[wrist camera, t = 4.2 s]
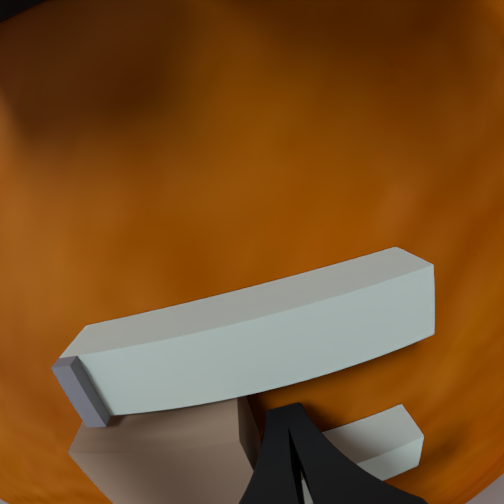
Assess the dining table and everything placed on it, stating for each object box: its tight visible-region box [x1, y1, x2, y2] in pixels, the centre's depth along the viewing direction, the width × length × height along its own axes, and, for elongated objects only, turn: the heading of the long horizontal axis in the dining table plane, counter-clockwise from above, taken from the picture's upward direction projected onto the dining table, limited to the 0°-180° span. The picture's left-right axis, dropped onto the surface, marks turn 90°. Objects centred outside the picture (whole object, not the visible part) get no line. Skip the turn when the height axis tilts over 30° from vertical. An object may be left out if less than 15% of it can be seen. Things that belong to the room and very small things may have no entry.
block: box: [68, 395, 261, 504], centre depth 10 cm, size 6×4×4 cm, turn 104°
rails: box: [51, 247, 435, 504], centre depth 11 cm, size 12×10×3 cm
